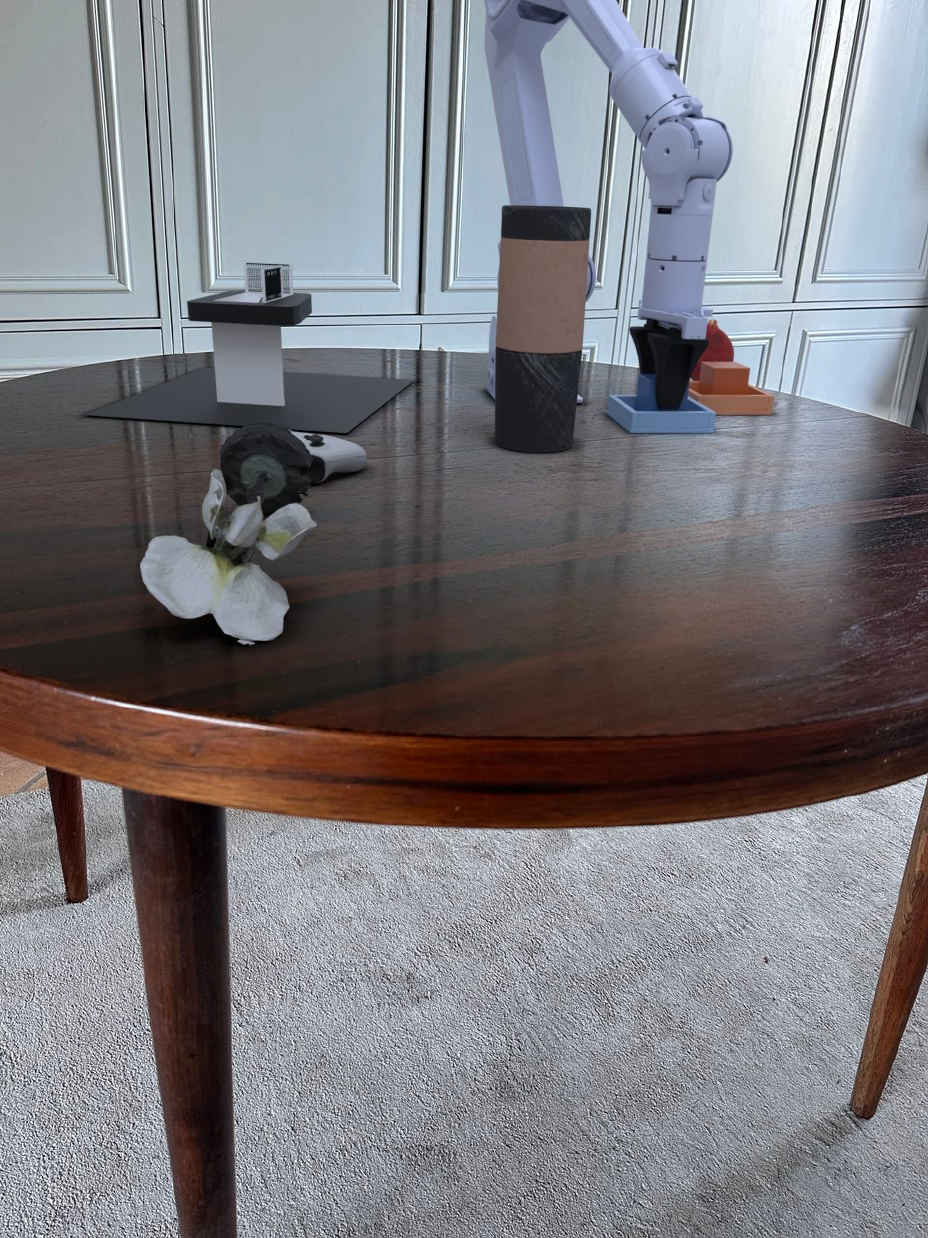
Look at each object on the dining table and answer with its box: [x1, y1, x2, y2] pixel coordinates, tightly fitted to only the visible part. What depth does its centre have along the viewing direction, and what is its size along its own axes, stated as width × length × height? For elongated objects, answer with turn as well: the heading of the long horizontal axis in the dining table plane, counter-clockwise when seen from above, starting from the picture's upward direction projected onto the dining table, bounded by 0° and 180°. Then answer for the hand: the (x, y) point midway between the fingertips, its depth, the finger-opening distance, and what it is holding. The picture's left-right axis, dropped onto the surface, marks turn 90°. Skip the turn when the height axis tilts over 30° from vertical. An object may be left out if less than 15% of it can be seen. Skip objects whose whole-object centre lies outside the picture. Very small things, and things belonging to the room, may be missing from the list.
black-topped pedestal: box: [85, 260, 415, 434], centre depth 103 cm, size 28×26×13 cm
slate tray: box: [606, 394, 717, 434], centre depth 99 cm, size 8×8×2 cm
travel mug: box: [494, 204, 592, 454], centre depth 86 cm, size 8×8×20 cm
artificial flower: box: [139, 423, 318, 646], centre depth 58 cm, size 9×22×10 cm, turn 179°
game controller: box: [278, 424, 368, 484], centre depth 79 cm, size 10×5×6 cm
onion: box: [690, 318, 735, 381], centre depth 116 cm, size 6×6×8 cm
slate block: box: [635, 373, 691, 412], centre depth 99 cm, size 4×4×4 cm
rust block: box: [698, 361, 751, 395], centre depth 107 cm, size 4×4×4 cm
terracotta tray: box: [688, 380, 775, 416], centre depth 108 cm, size 8×8×2 cm
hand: (661, 403), depth 99 cm, fingers closed on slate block, 4 cm apart
